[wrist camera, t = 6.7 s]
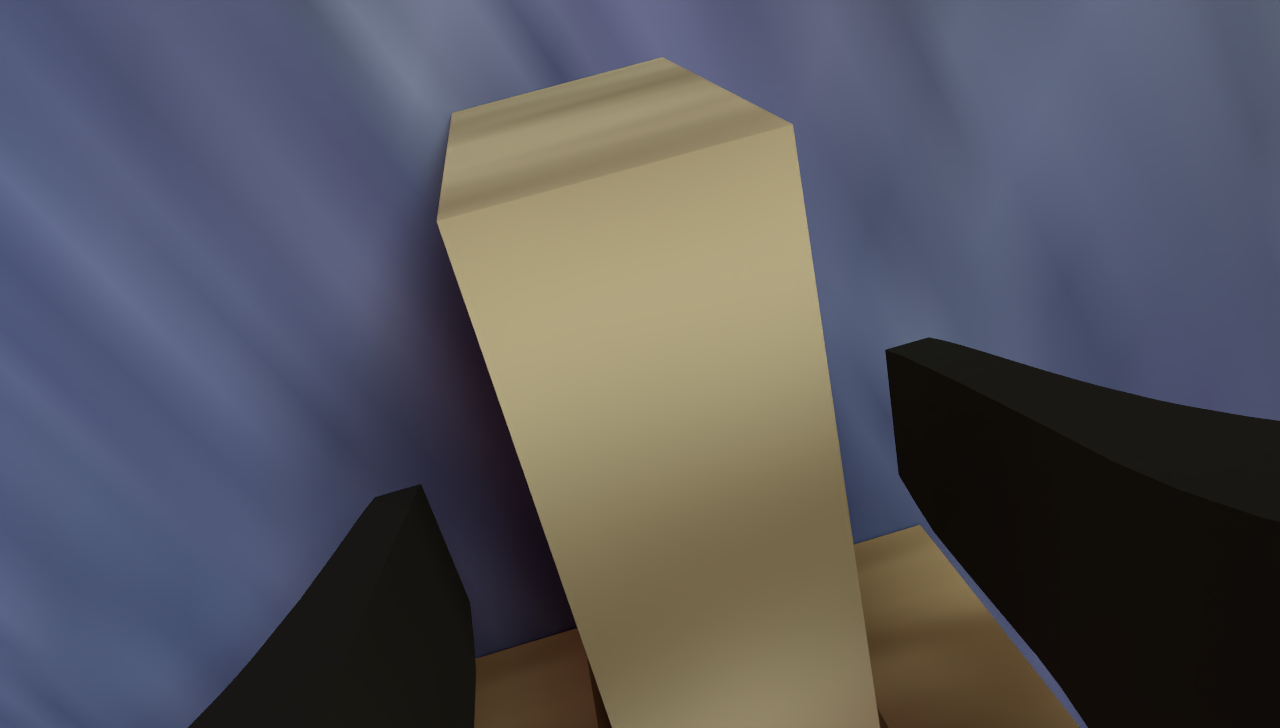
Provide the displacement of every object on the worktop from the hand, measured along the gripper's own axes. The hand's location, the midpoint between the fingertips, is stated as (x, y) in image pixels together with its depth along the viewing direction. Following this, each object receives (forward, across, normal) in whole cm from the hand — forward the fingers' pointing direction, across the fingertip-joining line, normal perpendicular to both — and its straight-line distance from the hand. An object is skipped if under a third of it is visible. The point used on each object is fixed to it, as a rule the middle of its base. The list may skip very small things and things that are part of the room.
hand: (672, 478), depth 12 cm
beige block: (+3, 0, 0) cm, 3 cm away
